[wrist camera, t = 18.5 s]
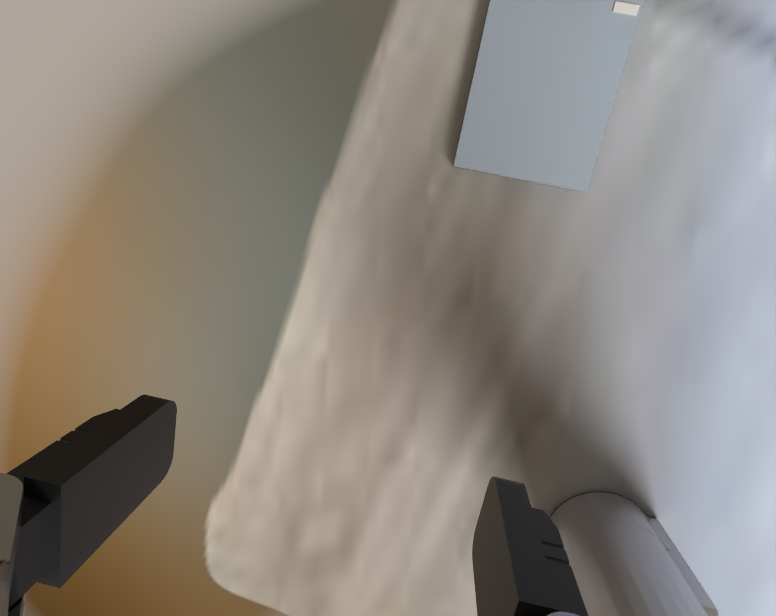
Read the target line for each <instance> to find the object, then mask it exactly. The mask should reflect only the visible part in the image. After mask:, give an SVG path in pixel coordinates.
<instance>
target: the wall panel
mask: <svg viewBox="0 0 776 616" xmlns="http://www.w3.org/2000/svg"><path fill="white" fill-rule="evenodd" d="M643 2H644V0H490V2H489V7H488V11H487V16H486V21H485V25H484V30H483V34H482V39H481V43H480V48H479V52H478V57H477V61H476V66H475V70H474V75H473V79H472V84H471V88H470V93H469V97H468V102H467V106H466V111H465V115H464V120H463V125H462V129H461V134H460V138H459V143H458V147H457V152H456V156H455V161H454V165H453V167H458V168H463V169H468V170H474V171H479V172H484V173H489V174H494V175H499V176H504V177H509V178H514V179H519V180H524V181H529V182H534V183H539V184H544V185H549V186H554V187H559V188H564V189H569V190H574V191H579V192H587V190H588V187H589V183H590V180H591V177H592V173H593V170H594V167H595V163H596V160H597V157H598V153H599V150H600V146H601V143H602V140H603V136H604V133H605V130H606V126H607V123H608V120H609V116H610V113H611V110H612V106H613V103H614V99H615V96H616V93H617V89H618V86H619V83H620V79H621V76H622V73H623V69H624V66H625V63H626V59H627V56H628V52H629V49H630V46H631V42H632V39H633V36H634V32H635V29H636V26H637V22H638V19H639V16H640V12H641V9H642V5H643Z"/></svg>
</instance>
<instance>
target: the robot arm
mask: <svg viewBox="0 0 776 616" xmlns="http://www.w3.org/2000/svg"><path fill="white" fill-rule="evenodd" d="M176 414H177V407H176V404H175V402H174V401H170V400H166V399H162V398H157V397H153V396H148V395H142V396H140V397H138V398H137V399H135V400H134V401H132V402H131V403H130V404H128V405H127V406H125V407H124V408H122V409H121V410H118V409H114V410H112V411H109V412H106V413H103V414H100V415H97V416H94V417H92V418H91V419H89V420H88V421H86V422H84V423H83V424H81V425H80V426H78V427H77V428H76V429H75V431H71V432H69V433H68V434H66V435H65V436H63V437H62V438H61V440H60V441H56V442H54V443H52V444H51V445H49V446H48V447H46V448H45V449H43V450H42V451H40V452H39V453H37V454H36V455H34V456H33V457H31V458H30V459H28V460H27V461H25V462H24V463H22V464H20V465H19V466H17V467H16V468H14V469H13V470H11V471H10V472H8V473H7V474H4V473H0V616H23V613H24V606H25V593H26V592H27V591H28V590H29V589H30V588H31V587H32V586H33V585H34V584H35V583H36V582H38V583H42V584H46V585H50V586H54V587H58V588H61V587H62V585H63V584H64V583H65V582H66V581H67V580H68V579H69V578H70V577H71V576H72V575H73V574H74V573H75V572H76V571H77V570H78V569H79V568H80V567H81V565H82V564H83V563H84V562H85V561H86V560H87V559H88V558H89V557H90V556H91V555H92V554H93V553H94V552H95V550H97V549H98V548H99V547H100V545H101V544H102V543H103V542H104V541H105V540H106V539H107V538H108V537H109V536H110V535H111V534H112V533H113V532H114V531H115V530H116V529H117V528H118V527H119V525H121V523H122V522H123V521H124V520H125V519H126V518H127V517H128V516H129V515H130V514H131V513H132V512H133V511H134V510H135V509H136V508H137V507H138V506H139V505H140V504H141V502H142V501H143V500H144V499H145V498H146V497H147V496H148V495H149V494H150V493H151V492H152V491H153V490H154V489H155V488H156V487H157V485H159V484H160V483H161V481H162V480H163V479H164V477H165V476H166V474H167V472H168V470H169V468H170V465H171V462H172V458H173V450H174V438H175V426H176ZM472 559H473V570H474V581H475V592H476V603H477V614H478V616H718V610H717V608H716V607H715V605H714V604H713V602H712V601H711V599H710V598H709V596H708V595H707V593H706V592H705V590H704V589H703V587H702V585H701V584H700V582H699V581H698V579H697V578H696V576H695V575H694V573H693V572H692V570H691V569H690V567H689V566H688V564H687V563H686V561H685V560H684V558H683V557H682V555H681V554H680V552H679V551H678V549H677V548H676V546H675V545H674V543H673V542H672V540H671V539H670V537H669V536H668V534H667V533H666V531H665V530H664V528H663V527H662V525H661V524H660V522H659V521H658V520H657V519H653V518H650V517H647V516H646V515H645V514H644V513H643V512H642V510H641V509H640V508H639V507H638V506H637V505H635V504H634V503H633V502H631V501H630V500H628V499H626V498H624V497H622V496H619V495H615V494H611V493H603V492H594V493H586V494H582V495H579V496H576V497H574V498H572V499H570V500H568V501H566V502H565V503H563V504H562V505H561V506H560V507H558V508H557V509H556V511H555V512H554V513H553V514H552V516H551V517H550V518H549V517H548V516H547V514H546V513H545V512H544V511H543V510H539V509H535V508H531V505H530V502H529V498H528V495H527V491H526V488H525V485H524V484H523V483H519V482H514V481H510V480H506V479H501V478H497V477H492V478H491V479H490V481H489V484H488V487H487V491H486V494H485V498H484V501H483V505H482V508H481V512H480V515H479V518H478V522H477V525H476V529H475V533H474V539H473V549H472Z"/></svg>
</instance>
